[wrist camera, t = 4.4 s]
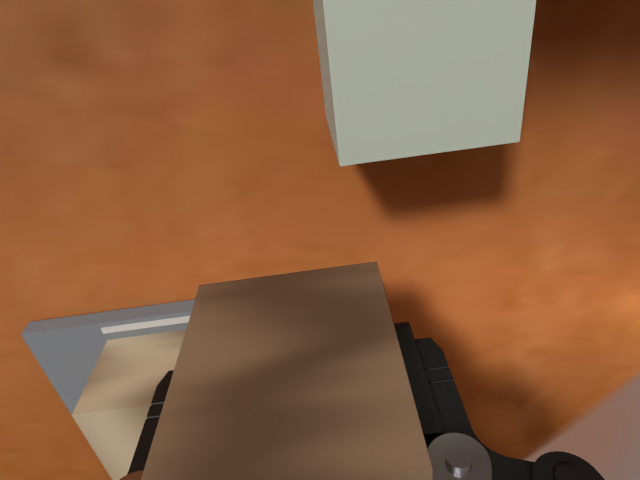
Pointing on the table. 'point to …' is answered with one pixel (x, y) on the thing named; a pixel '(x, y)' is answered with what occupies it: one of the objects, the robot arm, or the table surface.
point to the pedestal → (124, 395)
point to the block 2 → (422, 74)
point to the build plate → (94, 341)
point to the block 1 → (290, 385)
